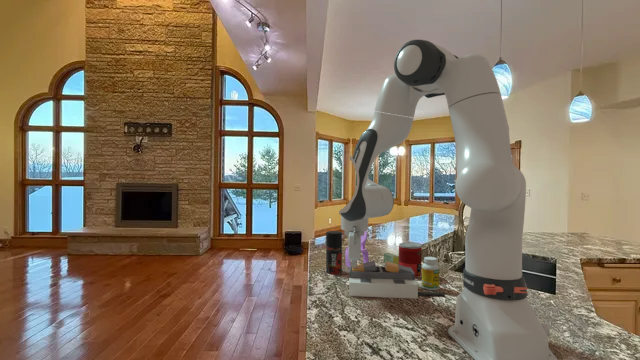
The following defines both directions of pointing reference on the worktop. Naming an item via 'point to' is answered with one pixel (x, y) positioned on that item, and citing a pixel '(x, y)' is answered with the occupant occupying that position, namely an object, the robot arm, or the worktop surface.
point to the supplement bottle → (430, 274)
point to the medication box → (391, 258)
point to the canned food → (410, 257)
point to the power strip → (385, 284)
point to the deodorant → (333, 252)
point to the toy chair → (363, 250)
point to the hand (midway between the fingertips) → (354, 266)
